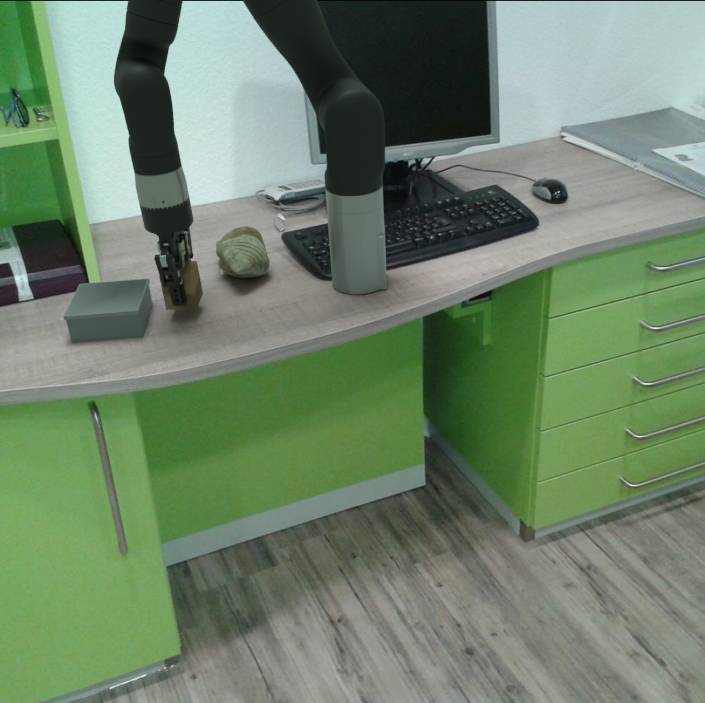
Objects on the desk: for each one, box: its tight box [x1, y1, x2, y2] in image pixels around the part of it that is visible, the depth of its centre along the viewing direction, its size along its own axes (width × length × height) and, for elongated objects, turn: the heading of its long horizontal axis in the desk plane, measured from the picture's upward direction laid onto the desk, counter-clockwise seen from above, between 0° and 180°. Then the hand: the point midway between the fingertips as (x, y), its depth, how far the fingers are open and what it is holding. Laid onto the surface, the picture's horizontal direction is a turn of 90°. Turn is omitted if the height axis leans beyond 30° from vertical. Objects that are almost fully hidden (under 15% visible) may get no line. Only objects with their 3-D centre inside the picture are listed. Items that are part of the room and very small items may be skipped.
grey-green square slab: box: [63, 278, 154, 343], centre depth 133 cm, size 11×11×5 cm
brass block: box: [158, 260, 204, 311], centre depth 133 cm, size 5×5×6 cm
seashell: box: [215, 226, 270, 279], centre depth 146 cm, size 14×9×10 cm
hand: (183, 296), depth 134 cm, fingers closed on brass block, 5 cm apart
